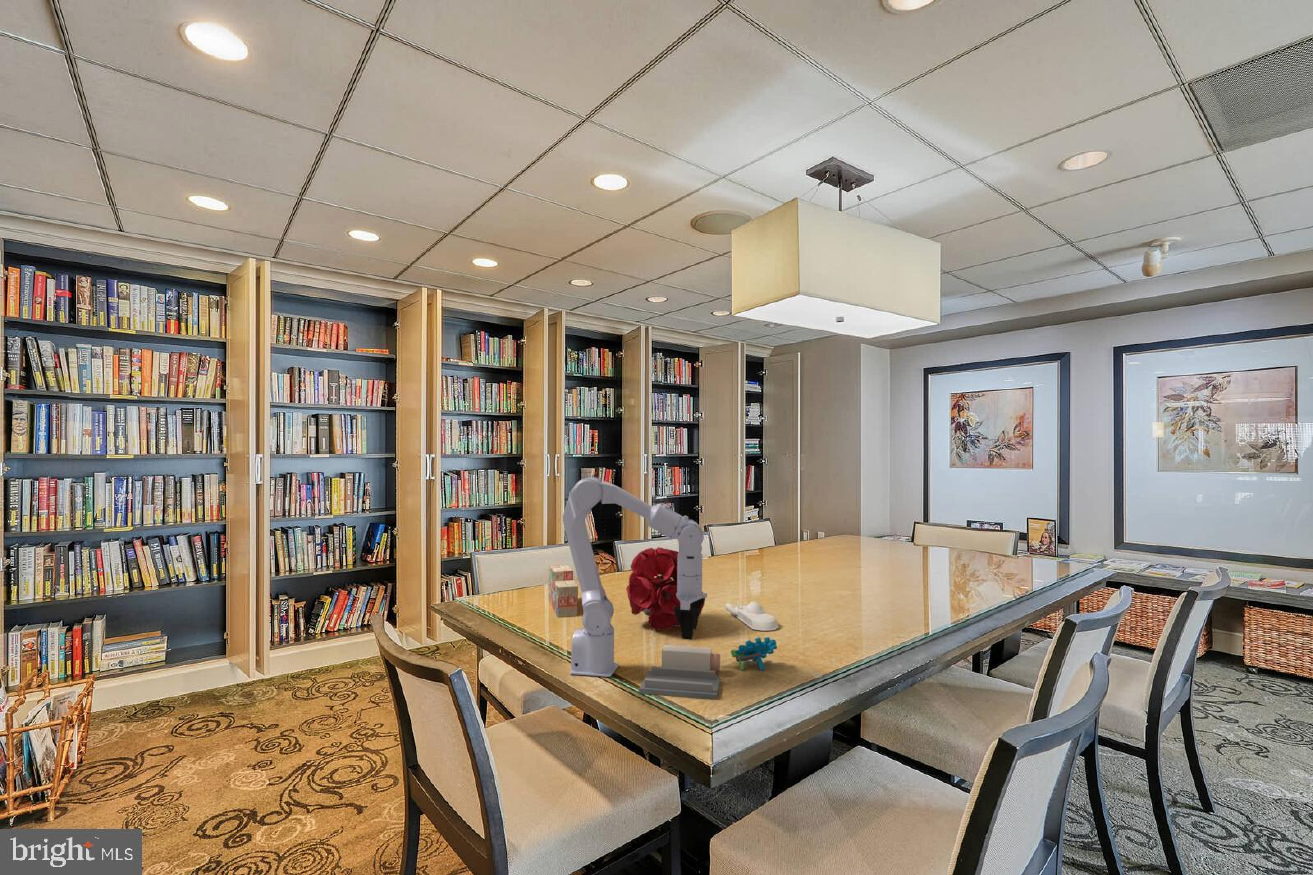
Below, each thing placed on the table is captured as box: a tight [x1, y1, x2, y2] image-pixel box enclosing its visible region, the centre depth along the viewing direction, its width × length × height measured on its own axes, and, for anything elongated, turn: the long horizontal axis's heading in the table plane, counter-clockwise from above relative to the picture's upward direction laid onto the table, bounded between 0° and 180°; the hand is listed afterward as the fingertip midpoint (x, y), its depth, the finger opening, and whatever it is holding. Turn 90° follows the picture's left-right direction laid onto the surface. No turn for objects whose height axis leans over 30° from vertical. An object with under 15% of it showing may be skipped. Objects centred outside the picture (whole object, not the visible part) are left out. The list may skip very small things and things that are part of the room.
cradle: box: [638, 665, 721, 700], centre depth 126 cm, size 16×10×2 cm, turn 79°
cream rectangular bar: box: [661, 644, 721, 672], centre depth 136 cm, size 13×4×5 cm, turn 79°
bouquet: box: [626, 546, 706, 630], centre depth 174 cm, size 22×24×30 cm
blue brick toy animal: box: [730, 637, 778, 672], centre depth 138 cm, size 11×6×10 cm
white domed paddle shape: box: [725, 600, 780, 632], centre depth 176 cm, size 10×20×6 cm, turn 15°
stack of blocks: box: [548, 564, 579, 618], centre depth 191 cm, size 21×6×12 cm, turn 17°
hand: (689, 633), depth 136 cm, fingers open, 7 cm apart
